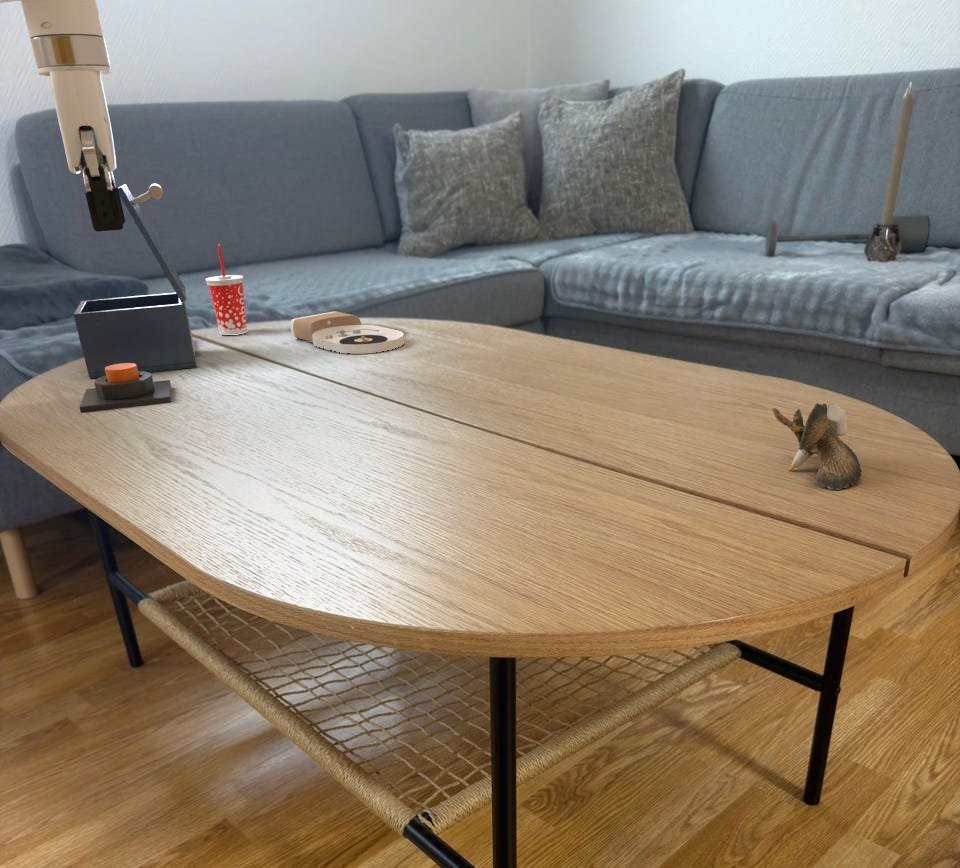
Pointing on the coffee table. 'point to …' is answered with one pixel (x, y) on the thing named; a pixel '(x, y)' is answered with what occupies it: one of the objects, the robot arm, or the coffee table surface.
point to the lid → (152, 233)
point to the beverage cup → (228, 301)
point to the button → (121, 372)
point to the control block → (125, 393)
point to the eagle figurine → (824, 445)
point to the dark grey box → (135, 333)
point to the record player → (345, 333)
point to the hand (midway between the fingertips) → (110, 227)
